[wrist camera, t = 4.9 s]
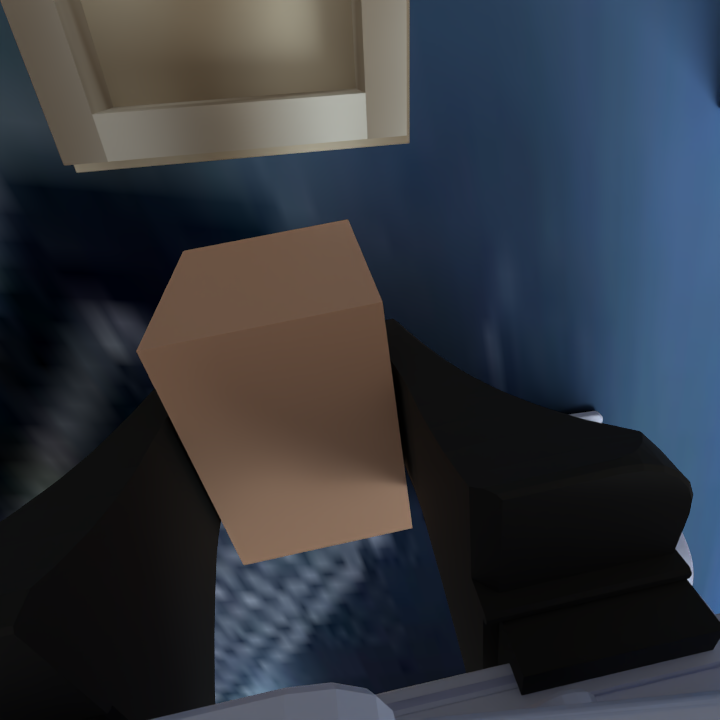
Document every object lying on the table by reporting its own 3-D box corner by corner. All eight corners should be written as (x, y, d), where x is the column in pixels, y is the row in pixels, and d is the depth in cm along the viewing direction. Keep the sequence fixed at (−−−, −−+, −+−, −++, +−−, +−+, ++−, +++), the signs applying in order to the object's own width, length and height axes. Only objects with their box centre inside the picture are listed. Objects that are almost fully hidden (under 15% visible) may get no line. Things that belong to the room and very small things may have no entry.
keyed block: (347, 219, 11) (382, 302, 8) (378, 407, 15) (412, 527, 11) (183, 250, 11) (136, 351, 7) (252, 433, 15) (244, 565, 11)
